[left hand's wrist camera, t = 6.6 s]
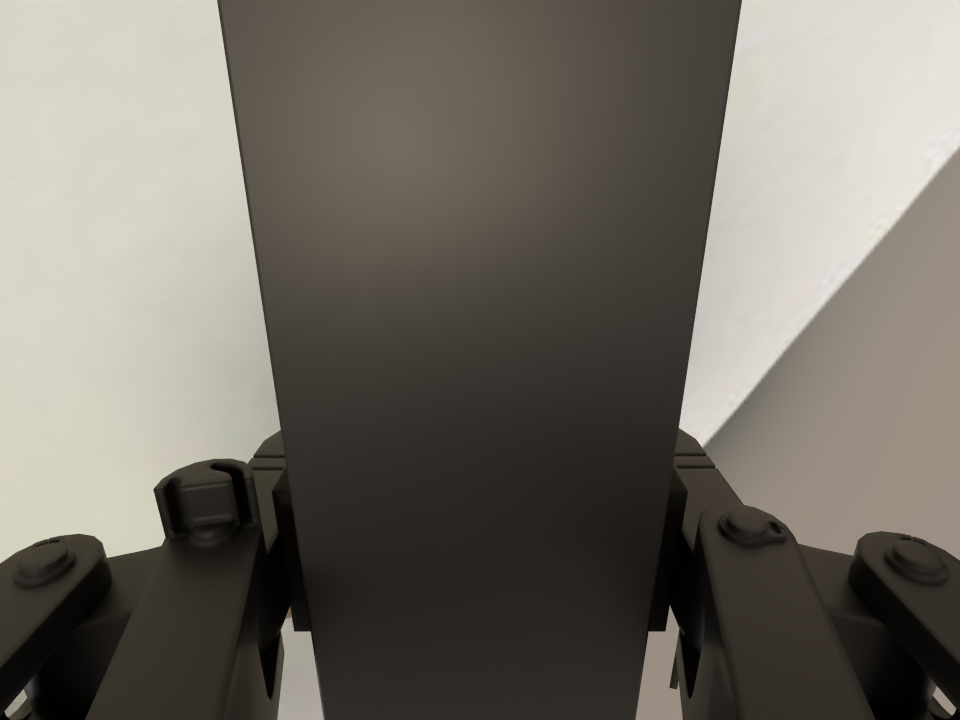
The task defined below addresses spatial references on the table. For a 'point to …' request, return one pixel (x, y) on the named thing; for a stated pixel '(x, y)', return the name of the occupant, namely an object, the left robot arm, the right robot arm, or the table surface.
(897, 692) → the left robot arm
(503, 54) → the bar
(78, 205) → the table surface
